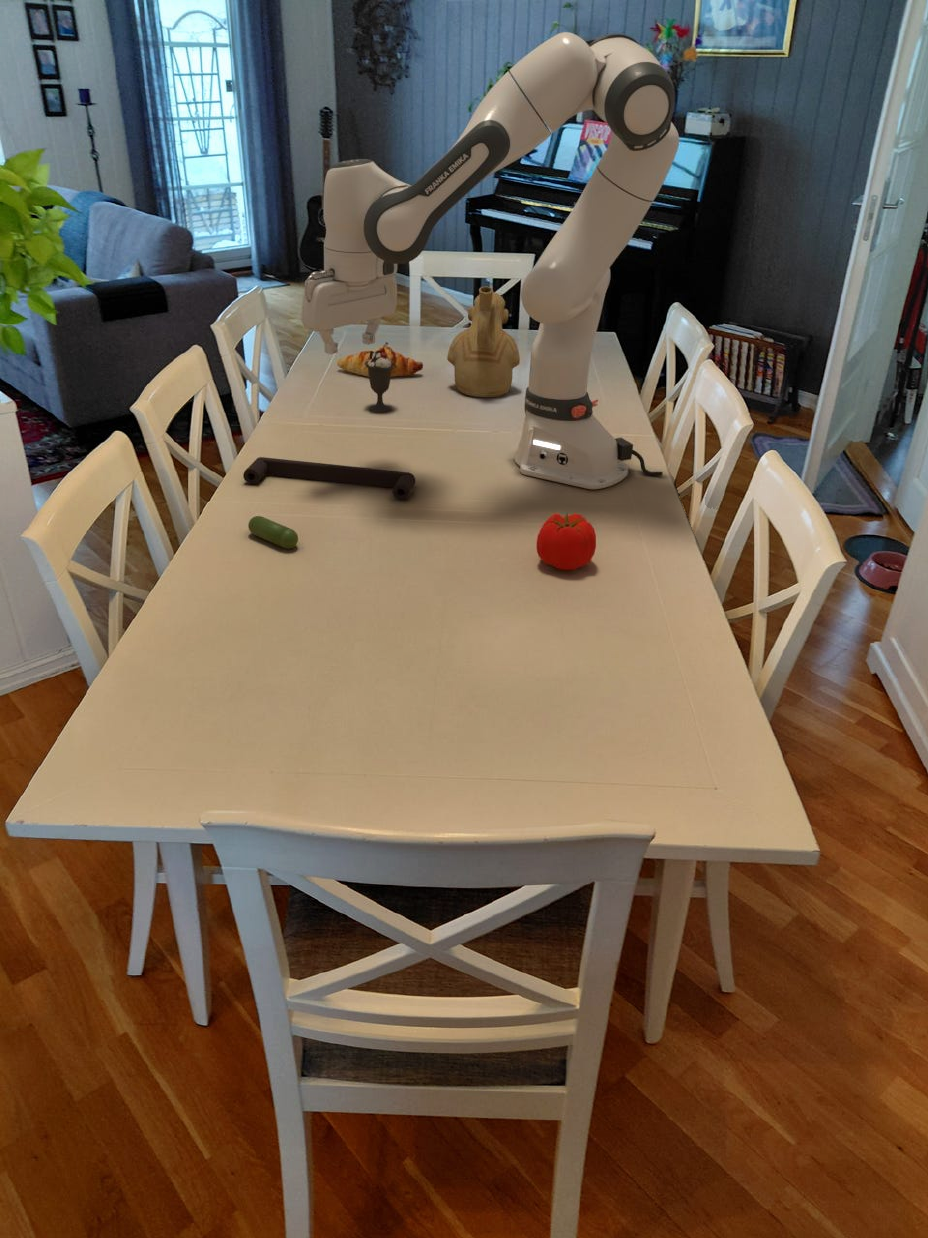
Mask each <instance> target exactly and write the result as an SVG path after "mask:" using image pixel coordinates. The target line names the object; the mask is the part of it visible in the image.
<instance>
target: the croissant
mask: <svg viewBox="0 0 928 1238" xmlns="http://www.w3.org/2000/svg"><path fill="white" fill-rule="evenodd" d="M383 346H385V345H381V346H378V347H376V348H375V349H374V350H372V351H373V352H375V351H378V350H380V349H381V348H384V347H383ZM384 349H385V352H386V353H387V355H388V358H389V359H390V361H391V362H393V363H395V364H396V365H395V366H394V367H393V368H392V371H391V378H394V377H403V376H404V377H405V376H411V375H415V374H416V373H418V372H420V371H422V370H423V368H424V363H423V362H422V361H416V360H415V359H413V358H411V357H406V356H404V355H403V354H402V353H399V352H396V351H394V350H393V349H392V347H390V346H388V345H386V346H385V348H384ZM370 351H371V350H362V351H359V352H358V353H356V354H349V355H347V356H345V357H344V358H339V359H337V367H339V368H340V369H342V370H343V371H346V372H348V373H353V374H355V375H359V376H363V377H367V378H369V373H368V368H367V367H366V366H365V364H364V363H365V362H366V361H369V359H370Z"/></svg>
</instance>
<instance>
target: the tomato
mask: <svg viewBox="0 0 928 1238" xmlns="http://www.w3.org/2000/svg"><path fill="white" fill-rule="evenodd" d="M535 548H536V553H537V555H538V558H539V559H541V561H542V562H543V563H544V564H545V565H549V566H552V567H554V568H556V569H558V570H563V571H574V570H577V569H578V568H581V567H586V566H587V565H589V563H590V562H591V560H592V558H593V557H594V555H595V552H596V549H597V534H596V530H595V528H594V526H593V525H592V523H591V522H589V521H588V520H587V519H586V517H585V516H583V515H582V514H580V513H572V514H569V513H568V512H566V514H565V516H562V515H561V514H560V513H558V512H555V513H553V514H552V515H550V516H549V517H548V518H547V519H546V520H545V522H544V523H543V524H542V526H541V528H540V530H539V531H538V533H537V536H536V547H535Z"/></svg>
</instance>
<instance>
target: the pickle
mask: <svg viewBox="0 0 928 1238" xmlns="http://www.w3.org/2000/svg"><path fill="white" fill-rule="evenodd" d="M247 526H248V531H249V532H250V533H251V534H252V535H253V536H255V537H258V538H261V539H262V540H265V541H268V542H269V543H272V544H274V545H276V546H277V547H281V548H283V549H286V550H287V549H288V550H290V549H293V548H295V547H296V546H297V544H298V542H299V536H298V533H297V531H295V530H294V529H293V528H290V527H288V526H285V525H283V524H280V523H278V522H276V521H273V520H271V519H269V518H266V517H264V516H261V515H255V516H253V517H252V518H250V520H249V521H248V525H247Z"/></svg>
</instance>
